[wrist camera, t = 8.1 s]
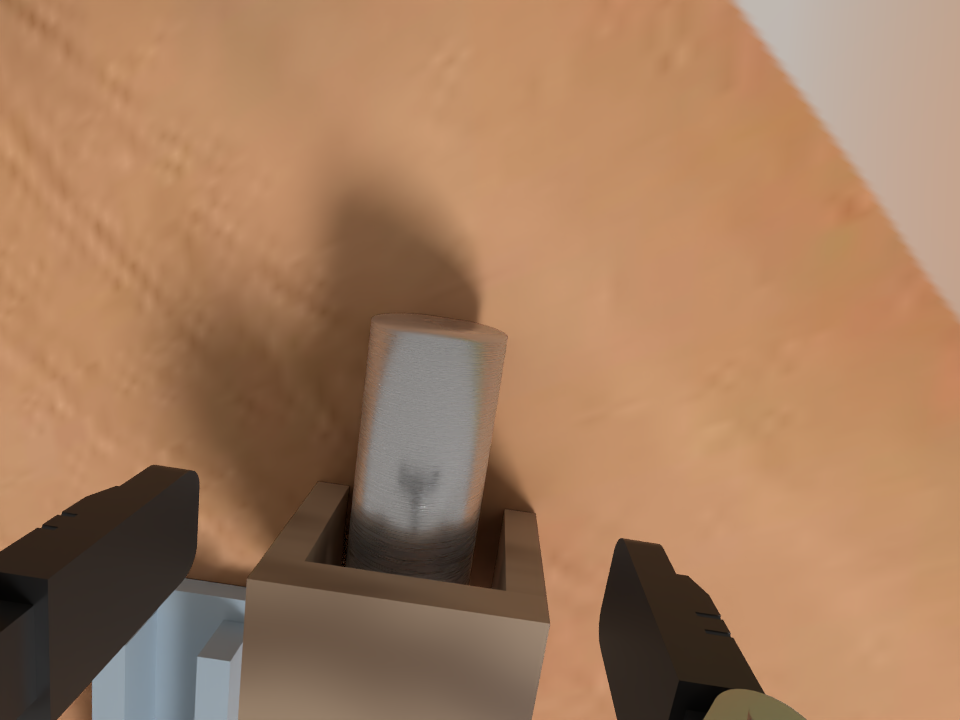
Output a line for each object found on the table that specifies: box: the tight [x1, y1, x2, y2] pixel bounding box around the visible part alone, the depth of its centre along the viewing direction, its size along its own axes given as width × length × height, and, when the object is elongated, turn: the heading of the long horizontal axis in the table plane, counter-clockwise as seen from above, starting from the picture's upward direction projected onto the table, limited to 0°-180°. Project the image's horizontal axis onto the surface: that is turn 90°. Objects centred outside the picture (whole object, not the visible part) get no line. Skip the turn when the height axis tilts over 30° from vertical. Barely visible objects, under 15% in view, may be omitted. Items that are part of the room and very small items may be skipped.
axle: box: [345, 313, 508, 585], centre depth 20 cm, size 13×4×4 cm, turn 172°
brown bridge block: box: [238, 481, 550, 720], centre depth 20 cm, size 5×8×6 cm, turn 82°
